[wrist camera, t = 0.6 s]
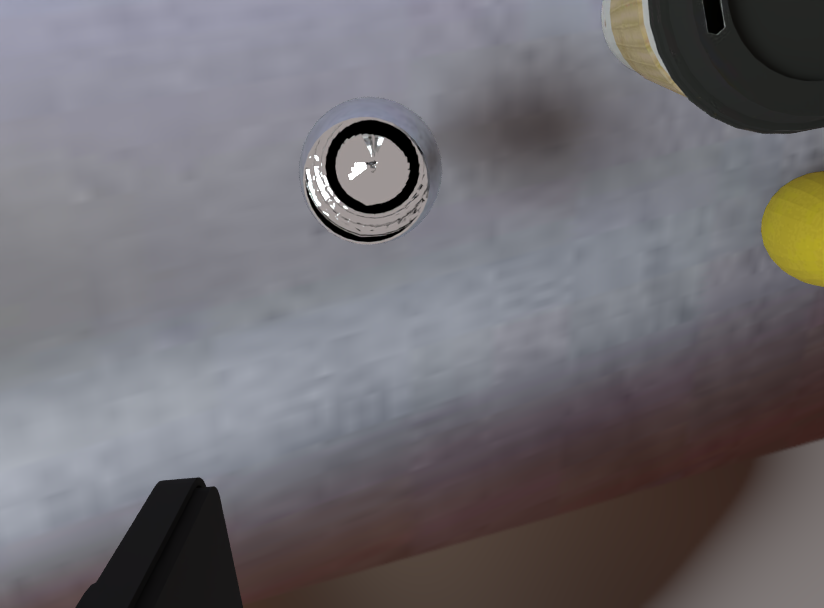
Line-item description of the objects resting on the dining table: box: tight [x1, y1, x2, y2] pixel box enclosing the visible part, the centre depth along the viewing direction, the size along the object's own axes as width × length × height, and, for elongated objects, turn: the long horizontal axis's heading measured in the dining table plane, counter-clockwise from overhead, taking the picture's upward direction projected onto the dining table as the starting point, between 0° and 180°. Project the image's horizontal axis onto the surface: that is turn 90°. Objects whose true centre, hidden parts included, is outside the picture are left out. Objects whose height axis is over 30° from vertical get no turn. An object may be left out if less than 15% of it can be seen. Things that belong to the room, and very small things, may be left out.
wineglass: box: [299, 97, 442, 244], centre depth 32 cm, size 6×6×12 cm
